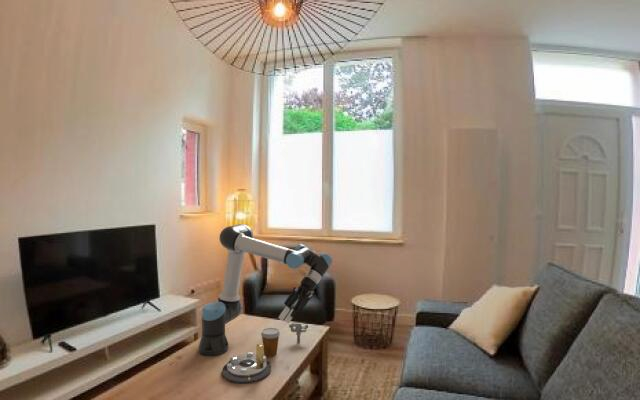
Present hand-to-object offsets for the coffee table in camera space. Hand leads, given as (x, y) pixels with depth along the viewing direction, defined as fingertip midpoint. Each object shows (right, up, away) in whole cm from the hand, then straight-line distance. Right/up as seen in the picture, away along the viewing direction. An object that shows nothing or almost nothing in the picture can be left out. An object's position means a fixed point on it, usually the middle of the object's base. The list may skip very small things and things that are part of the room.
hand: (283, 320), depth 177 cm
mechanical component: (+6, -22, +29) cm, 37 cm away
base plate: (-16, -22, -4) cm, 28 cm away
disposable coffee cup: (-8, -22, +14) cm, 27 cm away
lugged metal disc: (-16, -20, -4) cm, 26 cm away
